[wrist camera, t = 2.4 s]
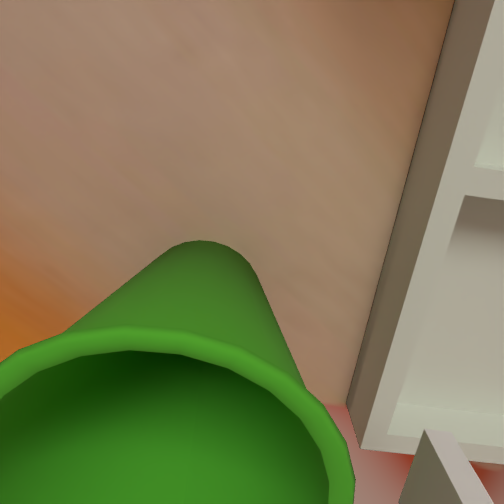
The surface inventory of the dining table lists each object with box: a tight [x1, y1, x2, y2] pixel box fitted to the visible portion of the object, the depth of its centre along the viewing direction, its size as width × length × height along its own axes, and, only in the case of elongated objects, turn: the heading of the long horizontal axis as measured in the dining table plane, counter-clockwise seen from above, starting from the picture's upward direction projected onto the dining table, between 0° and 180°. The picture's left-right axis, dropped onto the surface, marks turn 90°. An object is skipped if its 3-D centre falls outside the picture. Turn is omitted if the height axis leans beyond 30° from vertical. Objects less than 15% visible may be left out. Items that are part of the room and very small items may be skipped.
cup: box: [0, 240, 356, 504], centre depth 14 cm, size 9×9×11 cm
